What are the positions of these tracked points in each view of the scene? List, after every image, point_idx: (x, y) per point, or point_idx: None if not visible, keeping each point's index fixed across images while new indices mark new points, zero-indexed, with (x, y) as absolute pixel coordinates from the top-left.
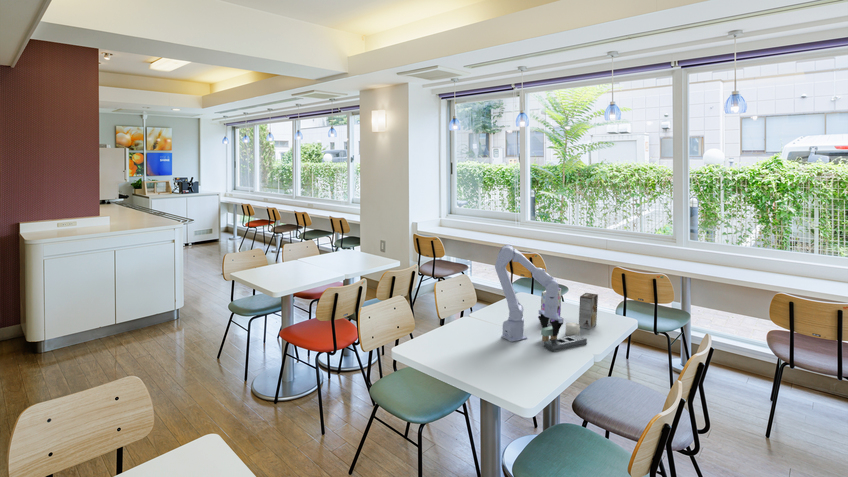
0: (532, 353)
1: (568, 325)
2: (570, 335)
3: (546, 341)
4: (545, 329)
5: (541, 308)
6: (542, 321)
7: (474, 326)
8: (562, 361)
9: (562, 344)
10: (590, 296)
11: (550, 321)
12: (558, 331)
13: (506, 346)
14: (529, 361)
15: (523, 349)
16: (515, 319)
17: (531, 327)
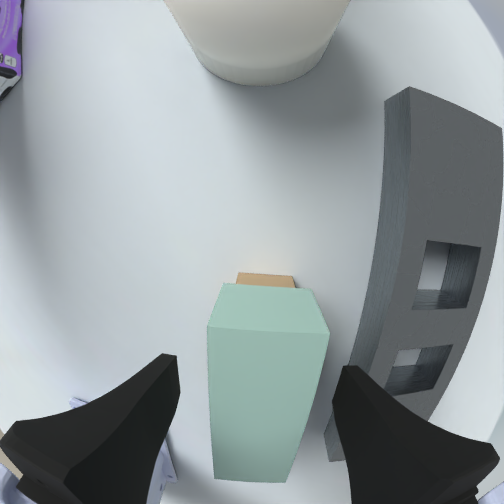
0: (336, 483)
1: (246, 15)
2: (293, 75)
3: (340, 450)
4: (266, 476)
5: None
6: (145, 492)
7: (10, 419)
8: (463, 425)
9: (443, 390)
10: None
11: (5, 73)
12: (384, 393)
13: (214, 501)
14: None
15: (279, 489)
16: None
17: (3, 242)
